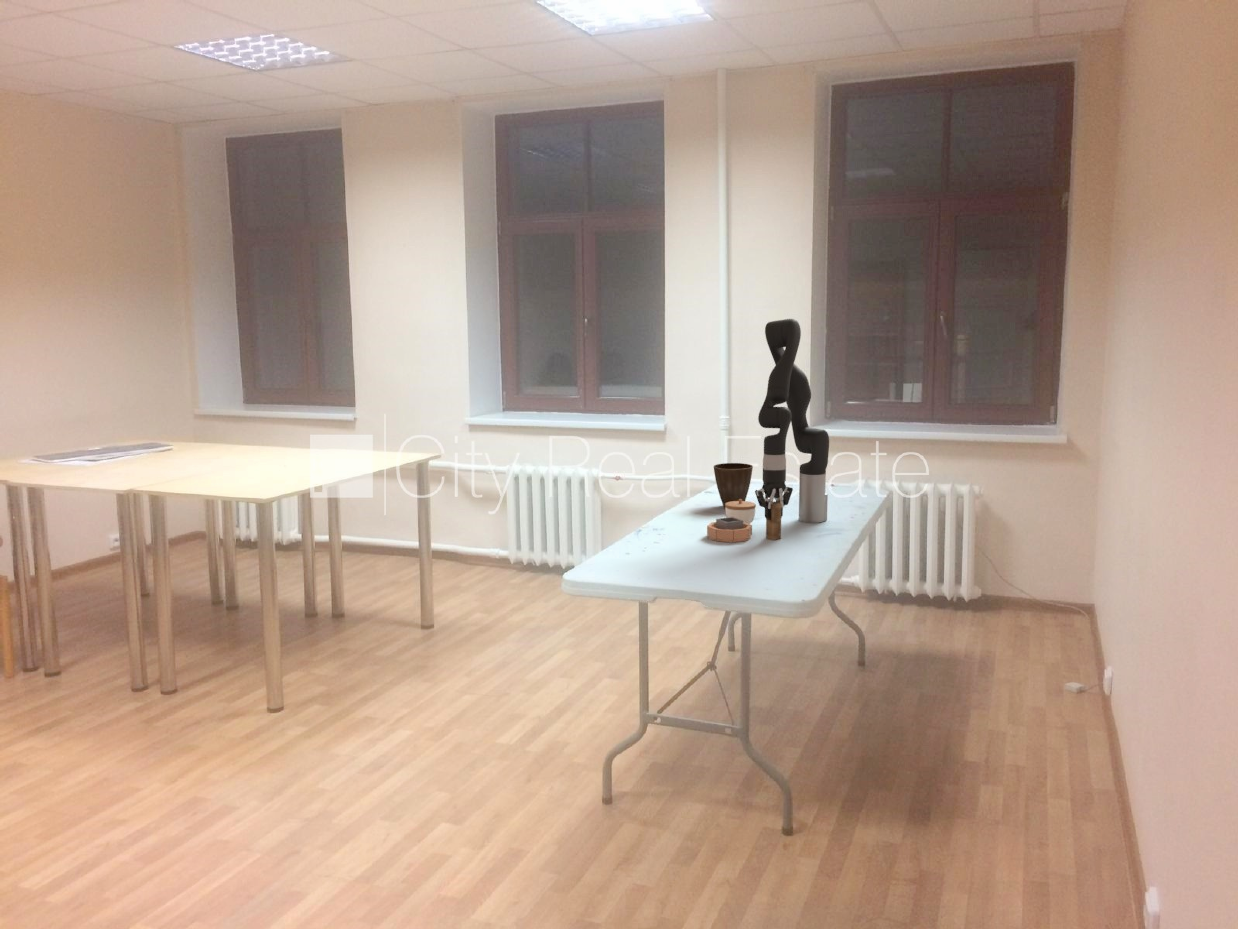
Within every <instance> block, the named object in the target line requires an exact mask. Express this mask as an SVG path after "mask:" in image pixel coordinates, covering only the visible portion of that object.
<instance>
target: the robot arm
mask: <svg viewBox="0 0 1238 929" xmlns="http://www.w3.org/2000/svg"><path fill="white" fill-rule="evenodd" d="M801 330H802V329H801V325H800V323H799V321H798V320H797V319H796V318H786V319H780V320H779V319H778V320H773V321H768V322H767V323H766V325H765V328H764V335H765V339H766V340H765V341H766V342H767V346H768V348H769V351H770V354H771V357H772V359H773V362H774V365H775V366H774V367H773V368H772V370H771V372H770V374H769V377H768V380H767V381H768V382H767V389H766V390H767V391H766V396H765V399H764V402H763V404H762V406H761V407H760V410H759V413H758V418H757V419H758V424H759V425H760V427H761V428H764V429H779V431H778V433H776V434H775V433H774V434H771V435H770V434H769V435H766V436H765V437H764V438H763V458H762V482H763V484H762V486H761V488H760V489H755V491H754V494H755V497H756V499H757V502H758V505H759V506H760V507H762V508H764V517H765V519H767V520H771V509H770V508H771V505H772V502H774V500H775V501H776V502H779V503H781V519H782V517H783V515H784V512H783V511H784V507H785V506H788V504H789V503H790V499H791V495H792V493H793V487H790V486H787V485H786V480H787V479H786V478H787V477H786V476H787V458H786V444H787V436H788V431H789V429H790V425H791V427H792V433H793V439H794V444H795V447H796V449H797V450H798V452H800V453H802V454H808V455H809V454H810V455H811V456H810V459H809V461H808V462H804V463H802V464H800V465H799V485H798V486H799V487H798V491H799V492H798V521H800V522H803V523H822V522H825V521H827V520H828V499H829V498H828V494H827V493H826V488H827V487H826V482H827V481H826V480H827V479H826V478H827V477H826V475H827V474H826V473H827V467H828V465H829V464H828V463H829V450H830V438H829V433H828V431H827V430H826V429H824V428H823V429H822V428H815V427H814V428H813V427H810V426H809V424H808V420H807V410H808V408H809V405H810V402H811V399H812V391H811V386H810V382H809V380H808V376H807V375H806V373H804V372H805V371H803V370H802V369H801V368H800V367H798V365H797V364H795V362H796V358H797V353H798V349H799V348H800V347H799V346H800V342H801V336H802V334H801V333H802V331H801ZM784 403H786V406H787V407H786V406H777V405H781V404H784Z"/></svg>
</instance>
